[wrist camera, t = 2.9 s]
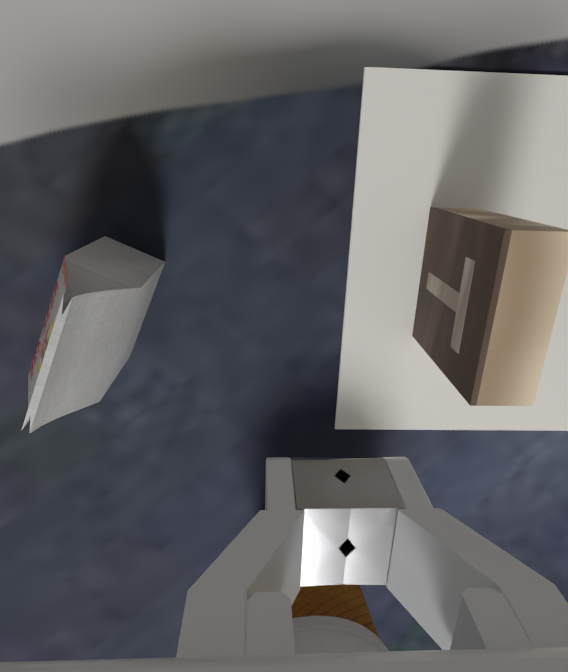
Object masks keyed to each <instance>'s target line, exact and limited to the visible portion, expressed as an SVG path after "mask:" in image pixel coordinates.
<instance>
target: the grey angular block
mask: <svg viewBox="0 0 568 672" xmlns="http://www.w3.org/2000/svg"><path fill="white" fill-rule="evenodd" d="M164 264H165V261H162V260H160V259H157V258H155V257H153V256H150V255H148V254H146V253H143V252H141V251H139V250H136V249H134V248H132V247H129V246H127V245H125V244H122V243H120V242H118V241H115V240H113V239H111V238H108V237H106V236H104V237H102V238H100V239H98V240H96V241H94V242H92V243H90V244H88V245H86V246H84V247H82V248H80V249H78V250H76V251H74V252H72V253H70V254H68V255H66V256H64V259H63V263H62V266H61V269H60V273H59V276H58V279H57V283H56V286H55V289H54V293H53V296H52V299H51V303H50V306H49V309H48V313H47V316H46V319H45V323H44V326H43V329H42V333H41V336H40V339H39V343H38V346H37V349H36V353H35V356H34V359H33V363H32V366H31V369H30V373H29V376H28V411H27V414H26V417H25V421H24V424H23V427H22V429H23V428H24V427H25V425H26V424H27V422H28V421H29V420H30V433H31V432H33V431H34V430H36V429H37V428H39V427H40V426H42V425H44V424H46V423H48V422H50V421H52V420H55V419H57V418H59V417H61V416H64V415H66V414H69V413H72V412H74V411H77V410H79V409H82V408H84V407H87V406H90V405H92V404H95V403H97V402H100V400H101V399H102V397H103V396H104V394H105V393H106V391H107V390H108V388H109V387H110V385H111V384H112V382H113V381H114V379H115V378H116V376H117V375H118V373H119V372H120V370H121V369H122V367H123V366H124V364H125V363H126V361H127V360H128V358H129V357H130V354H131V352H132V349H133V346H134V344H135V341H136V338H137V336H138V333H139V331H140V328H141V325H142V323H143V320H144V317H145V315H146V312H147V309H148V307H149V304H150V301H151V299H152V296H153V293H154V291H155V288H156V285H157V283H158V280H159V277H160V275H161V272H162V269H163V267H164ZM21 431H22V430H21Z"/></svg>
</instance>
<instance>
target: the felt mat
mask: <svg viewBox="0 0 568 672" xmlns="http://www.w3.org/2000/svg"><path fill="white" fill-rule="evenodd" d="M430 207H432V208H466V209H483V210H487V211H491V212H496V213H500V214H504V215H508V216H512V217H516V218H521V219H525V220H529V221H533V222H537V223H542V224H546V225H550V226H554V227H558V228H562V229H567V230H568V76H564V75H541V74H518V73H495V72H472V71H450V70H427V69H404V68H403V69H402V68H381V67H364V74H363V86H362V98H361V110H360V123H359V135H358V147H357V159H356V171H355V184H354V196H353V208H352V220H351V233H350V245H349V257H348V269H347V282H346V294H345V306H344V318H343V330H342V343H341V355H340V367H339V379H338V392H337V404H336V416H335V429H378V430H564V431H568V271H567V275H566V279H565V283H564V287H563V291H562V294H561V298H560V302H559V306H558V310H557V314H556V318H555V322H554V326H553V330H552V334H551V338H550V342H549V346H548V350H547V354H546V357H545V361H544V365H543V369H542V373H541V377H540V381H539V385H538V389H537V393H536V397H535V401H534V405H533V406H470V405H469V404H468V403H467V401H466V400H465V399H464V398H463V397H462V395H461V394H460V393H459V392H458V391H457V389H456V388H455V387H454V386H453V384H452V383H451V382H450V381H449V380H448V378H447V377H446V376H445V375H444V374H443V372H442V371H441V370H440V369H439V368H438V366H437V365H436V364H435V363H434V362H433V360H432V359H431V358H430V357H429V356H428V354H427V353H426V352H425V351H424V350H423V348H422V347H421V346H420V345H419V343H418V342H417V341H416V340H415V339H414V337H413V336H412V334H413V326H414V319H415V312H416V305H417V298H418V291H419V283H420V276H421V269H422V262H423V255H424V248H425V240H426V233H427V226H428V219H429V212H430Z"/></svg>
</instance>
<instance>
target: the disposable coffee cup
mask: <svg viewBox="0 0 568 672" xmlns="http://www.w3.org/2000/svg"><path fill="white" fill-rule="evenodd" d="M291 608H292V621H293V633H294V645H295V654H318V653H354V652H389V651H388V649H387V648H386V647H385V645H384V644H383V643H382V641H381V640H380V638H379V636H378V634H377V632H376V628H375V626H374V623H373V622H372V620H373V619H372V617H371V615H370V613H369V609H368V607H367V605H366V601H365V599H364V596H363V593H362V591H361V588H360V585H347V584H342V585H321V586H301V587H300V591H299V593H298V594H297V596H296V598H295V600H294V602H293V604H292V606H291Z"/></svg>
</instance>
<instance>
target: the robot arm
mask: <svg viewBox="0 0 568 672" xmlns="http://www.w3.org/2000/svg"><path fill="white" fill-rule="evenodd" d="M342 584H347V585H387V588H388V589H389V590H390V591H391V593H392V594H393V595H394V596H395V597H396V598H397V599H398V600H399V602H400V603H401V604H402V605H403V606H404V607H405V608H406V609H407V610H408V612H409V613H410V614H411V615H412V616H413V617H414V618H415V619H416V621H417V622H418V623H419V624H420V625H421V626H422V627H423V628H424V630H425V631H426V632H427V633H428V634H429V635H430V636H431V637H432V639H433V640H434V641H435V642H436V643H437V644H438V645H439V646H440V647H441V649H442V650H425V651H389V652H354V653H318V654H295V645H294V633H293V621H292V608H291V606H292V604H293V602H294V600H295V598H296V596H297V594H298V593H299V591H300V587H301V586H321V585H342ZM0 672H568V603H567V602H566V600H565V599H564V597H563V596H562V595H561V593H560V592H559V590H558V589H557V587H556V586H555V585H554V584H553V583H551V582H550V581H548V580H547V579H545V578H544V577H542V576H541V575H539V574H538V573H536V572H535V571H533V570H532V569H530V568H529V567H527V566H526V565H524V564H523V563H521V562H520V561H518V560H517V559H515V558H514V557H512V556H511V555H509V554H508V553H506V552H505V551H503V550H502V549H500V548H499V547H497V546H496V545H494V544H493V543H491V542H490V541H488V540H487V539H485V538H484V537H482V536H481V535H479V534H478V533H476V532H475V531H473V530H472V529H470V528H469V527H467V526H466V525H464V524H463V523H461V522H460V521H458V520H457V519H455V518H454V517H452V516H451V515H449V514H448V513H446V512H445V511H444V510H442V509H434V508H433V506H432V504H431V502H430V500H429V499H428V497H427V495H426V493H425V491H424V489H423V487H422V485H421V483H420V481H419V479H418V477H417V475H416V473H415V471H414V469H413V467H412V465H411V463H410V461H409V459H408V458H406V457H382V458H352V459H337V458H298V457H291V458H289V457H267V458H266V481H265V510H260V511H259V512H258V513H257V514H256V515H255V516H254V517H253V519H252V520H251V521H250V522H249V523H248V524H247V525H246V526H245V528H244V529H243V530H242V531H241V532H240V533H239V534H238V535H237V536H236V538H235V539H234V540H233V541H232V542H231V543H230V544H229V545H228V547H227V548H226V549H225V550H224V551H223V552H222V553H221V554H220V555H219V557H218V558H217V559H216V560H215V561H214V562H213V563H212V564H211V565H210V567H209V568H208V569H207V570H206V571H205V572H204V573H203V574H202V576H201V577H200V578H199V579H198V580H197V581H196V582H195V583H194V584H193V586H192V587H191V588H190V589H189V590H188V592H187V598H186V604H185V610H184V615H183V621H182V627H181V633H180V638H179V644H178V650H177V656H176V657H174V658H137V659H101V660H65V661H29V662H0Z"/></svg>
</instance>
